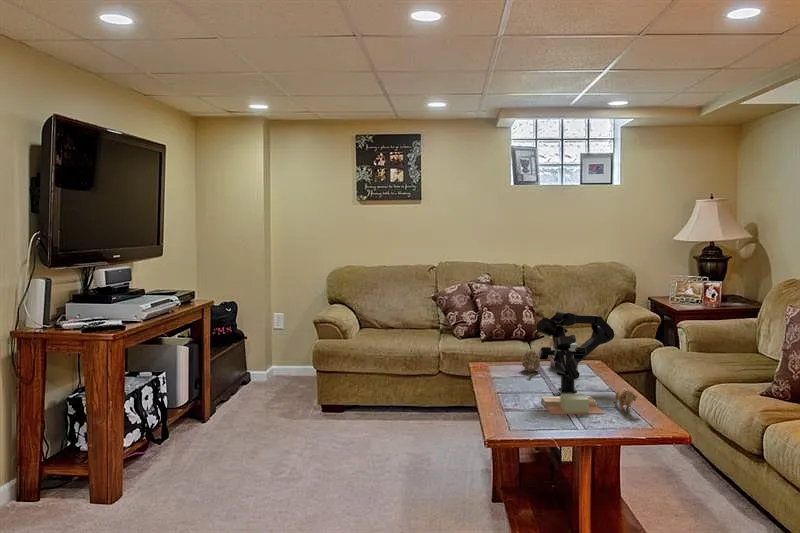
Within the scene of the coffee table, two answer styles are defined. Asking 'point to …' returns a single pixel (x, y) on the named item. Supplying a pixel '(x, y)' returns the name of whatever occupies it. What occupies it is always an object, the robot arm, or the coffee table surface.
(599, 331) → the robot arm
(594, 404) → the birch board
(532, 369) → the pine cone
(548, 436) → the coffee table surface
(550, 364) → the snack box
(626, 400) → the lion figurine
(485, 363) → the coffee table surface
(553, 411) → the rubber mat
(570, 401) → the green block
